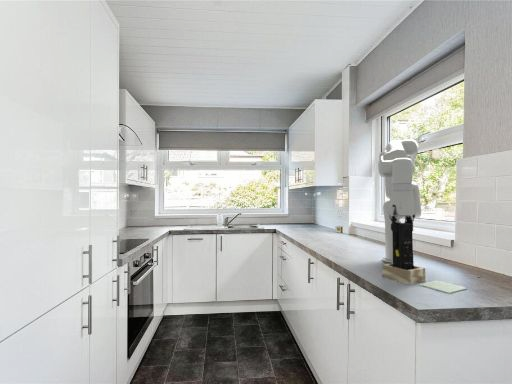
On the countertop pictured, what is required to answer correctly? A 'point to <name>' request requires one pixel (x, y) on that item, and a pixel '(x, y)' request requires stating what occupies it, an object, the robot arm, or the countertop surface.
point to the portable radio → (403, 247)
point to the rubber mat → (443, 286)
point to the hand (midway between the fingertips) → (402, 231)
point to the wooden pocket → (403, 274)
